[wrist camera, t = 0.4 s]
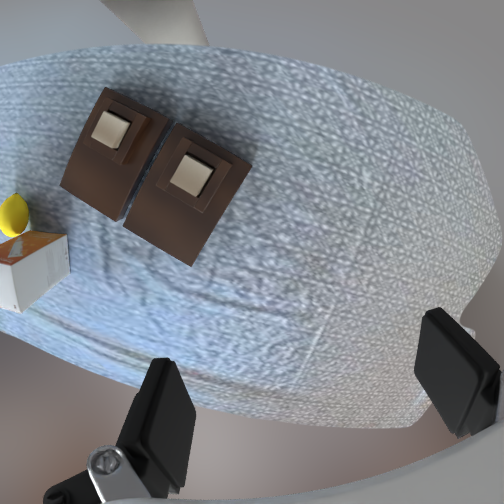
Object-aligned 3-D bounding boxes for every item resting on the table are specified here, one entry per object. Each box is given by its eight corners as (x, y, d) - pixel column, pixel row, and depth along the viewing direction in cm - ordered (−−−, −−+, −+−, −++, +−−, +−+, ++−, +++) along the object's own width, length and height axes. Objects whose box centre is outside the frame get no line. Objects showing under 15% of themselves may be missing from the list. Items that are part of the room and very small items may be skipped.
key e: (188, 154, 30) (185, 154, 28) (213, 169, 31) (211, 170, 29) (173, 180, 31) (169, 181, 29) (198, 194, 31) (195, 196, 30)
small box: (67, 233, 36) (11, 265, 24) (71, 274, 38) (21, 315, 26) (29, 228, 36) (-27, 256, 23) (33, 267, 38) (-17, 302, 25)
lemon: (32, 238, 36) (11, 249, 31) (11, 225, 35) (-10, 235, 30) (39, 196, 34) (16, 203, 29) (17, 185, 33) (-6, 190, 28)
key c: (110, 112, 28) (103, 110, 26) (131, 123, 29) (125, 122, 27) (97, 136, 29) (90, 136, 27) (118, 148, 29) (111, 148, 28)
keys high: (180, 124, 32) (172, 120, 28) (252, 165, 34) (252, 166, 30) (128, 222, 36) (116, 229, 32) (194, 260, 38) (188, 272, 34)
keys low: (112, 89, 30) (98, 84, 26) (174, 120, 32) (165, 116, 28) (67, 183, 34) (51, 187, 30) (122, 218, 36) (109, 225, 32)
